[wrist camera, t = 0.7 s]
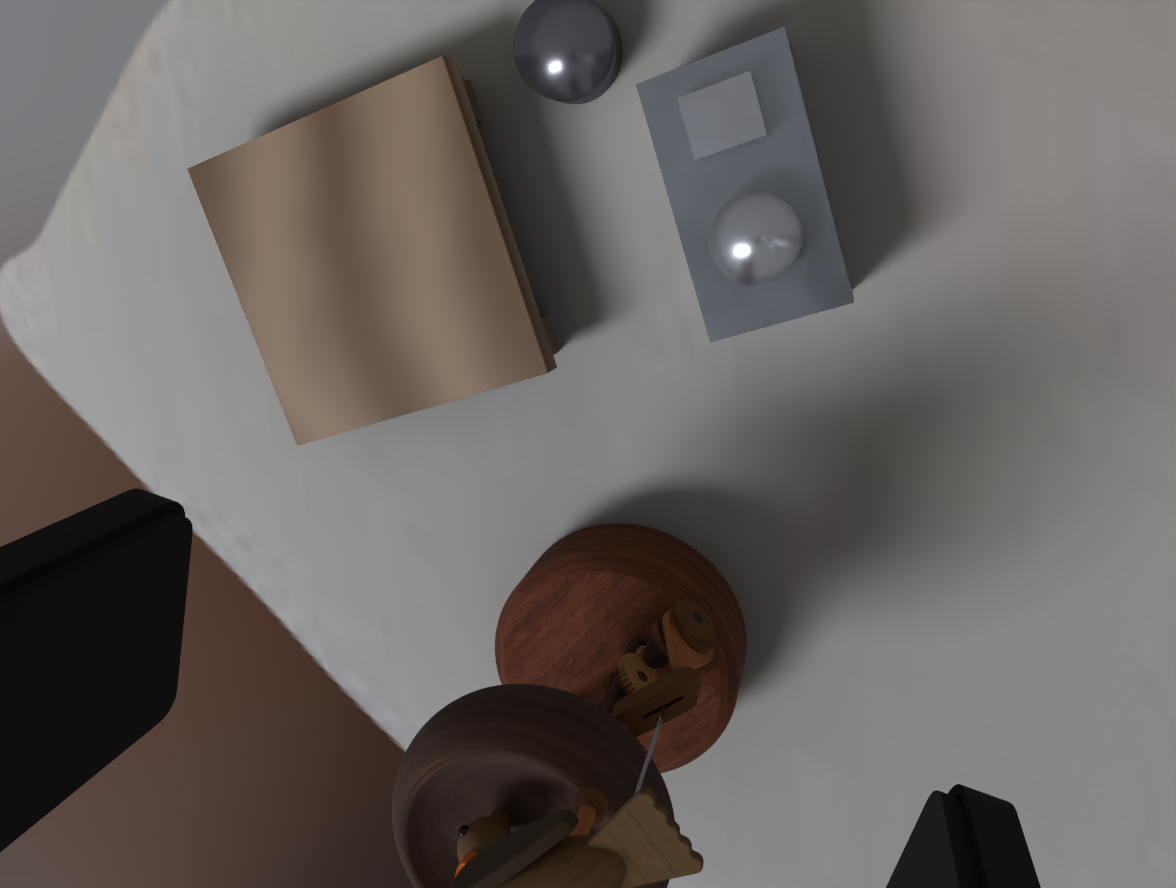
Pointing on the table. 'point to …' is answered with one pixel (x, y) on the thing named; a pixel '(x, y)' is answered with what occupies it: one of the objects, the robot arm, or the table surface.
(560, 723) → the music box
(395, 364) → the stand
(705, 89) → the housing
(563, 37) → the dark grey round piece
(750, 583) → the table surface
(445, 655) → the table surface
